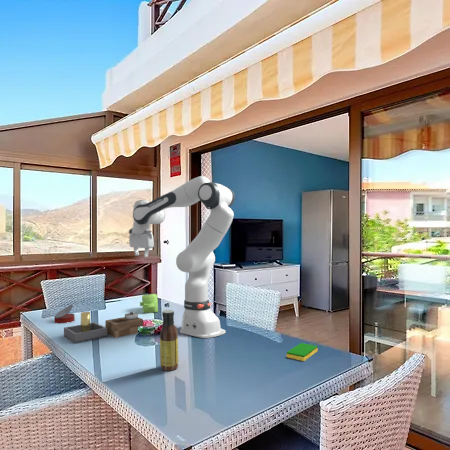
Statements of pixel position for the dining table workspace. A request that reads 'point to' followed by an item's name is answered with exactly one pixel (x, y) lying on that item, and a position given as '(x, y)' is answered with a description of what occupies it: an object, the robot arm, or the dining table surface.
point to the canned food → (64, 315)
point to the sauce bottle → (168, 342)
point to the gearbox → (149, 303)
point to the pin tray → (85, 333)
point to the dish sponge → (302, 351)
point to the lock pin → (85, 321)
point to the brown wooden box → (123, 325)
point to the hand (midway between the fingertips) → (141, 256)
